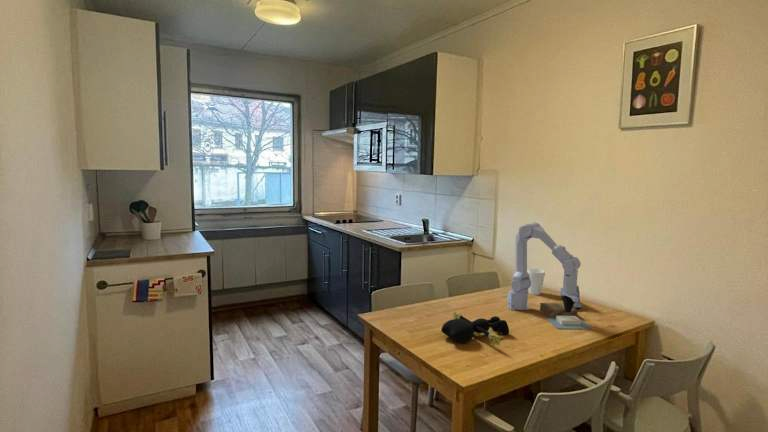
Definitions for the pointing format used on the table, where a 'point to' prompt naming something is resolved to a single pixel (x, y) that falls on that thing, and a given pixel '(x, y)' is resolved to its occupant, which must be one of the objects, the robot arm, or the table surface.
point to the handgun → (577, 304)
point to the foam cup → (536, 280)
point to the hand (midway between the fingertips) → (567, 311)
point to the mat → (559, 326)
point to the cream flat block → (568, 320)
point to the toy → (474, 328)
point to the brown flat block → (556, 310)
